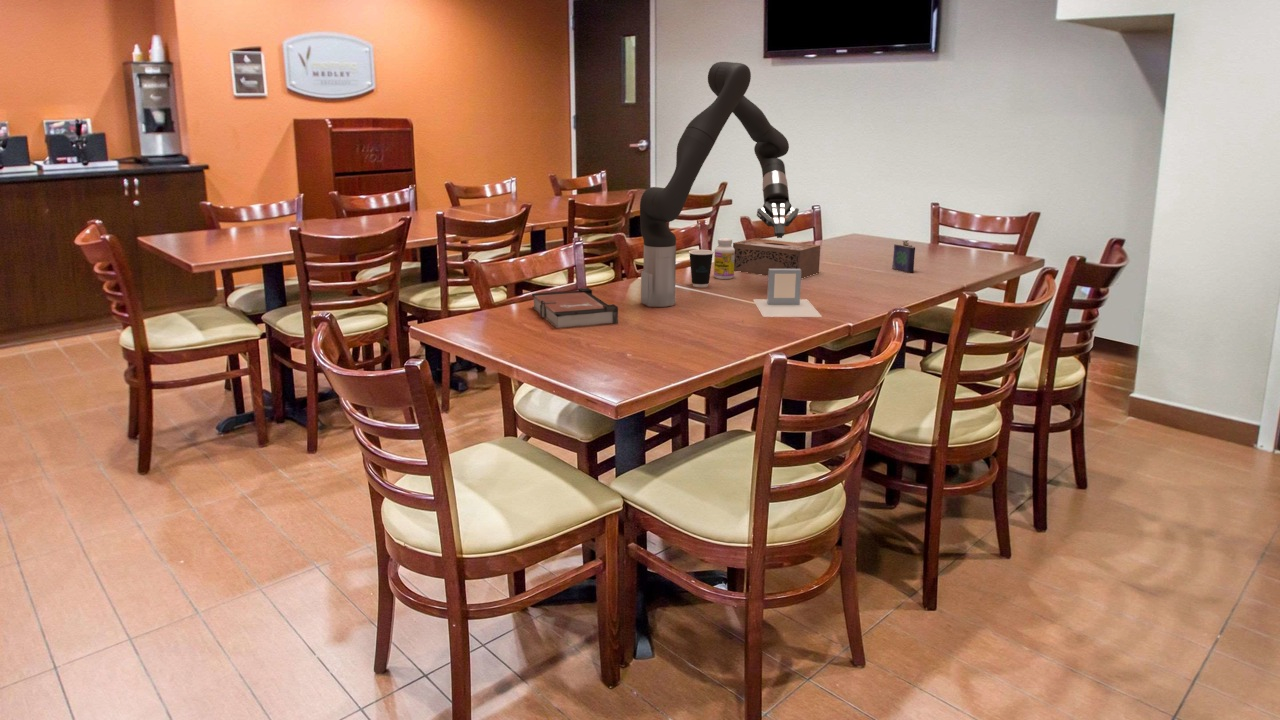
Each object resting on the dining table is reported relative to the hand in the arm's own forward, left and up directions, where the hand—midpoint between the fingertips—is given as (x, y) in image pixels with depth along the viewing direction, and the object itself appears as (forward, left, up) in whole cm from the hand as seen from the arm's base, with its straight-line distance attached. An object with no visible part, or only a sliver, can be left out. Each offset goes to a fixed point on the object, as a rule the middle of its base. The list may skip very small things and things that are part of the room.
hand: (780, 236), depth 263 cm
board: (-6, -16, -18) cm, 25 cm away
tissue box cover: (+19, +36, -19) cm, 45 cm away
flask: (+62, +23, -19) cm, 69 cm away
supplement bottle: (-2, +33, -19) cm, 38 cm away
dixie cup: (-15, +23, -19) cm, 33 cm away
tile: (-4, -11, -18) cm, 21 cm away
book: (-64, -2, -19) cm, 67 cm away
